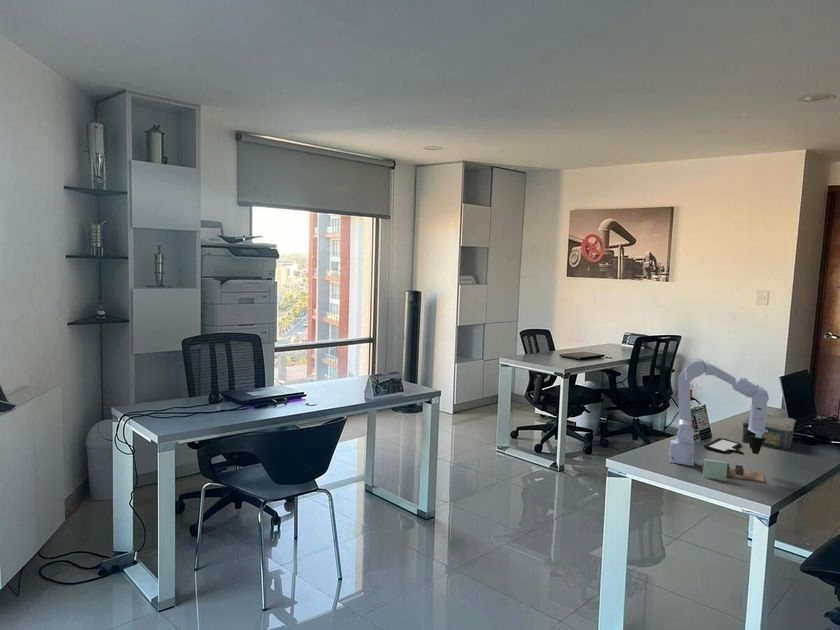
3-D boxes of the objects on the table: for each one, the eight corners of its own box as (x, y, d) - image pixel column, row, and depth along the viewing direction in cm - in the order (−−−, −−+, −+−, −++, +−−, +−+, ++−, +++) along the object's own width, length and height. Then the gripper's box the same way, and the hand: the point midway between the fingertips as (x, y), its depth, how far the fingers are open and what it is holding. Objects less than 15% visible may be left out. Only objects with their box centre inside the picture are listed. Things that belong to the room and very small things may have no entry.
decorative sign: (753, 450, 283) (719, 440, 294) (753, 446, 283) (720, 437, 293) (737, 459, 267) (702, 449, 278) (738, 455, 267) (703, 445, 277)
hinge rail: (702, 472, 243) (703, 464, 243) (701, 465, 252) (702, 457, 252) (764, 483, 235) (765, 474, 234) (761, 475, 244) (762, 467, 243)
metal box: (739, 442, 293) (741, 422, 293) (748, 429, 320) (750, 411, 319) (790, 452, 281) (792, 431, 280) (795, 438, 308) (797, 418, 307)
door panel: (703, 477, 238) (704, 460, 237) (703, 476, 239) (704, 458, 238) (725, 481, 235) (727, 463, 234) (725, 479, 236) (727, 462, 235)
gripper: (771, 423, 234) (768, 457, 235) (766, 415, 247) (762, 448, 248) (751, 420, 236) (747, 454, 238) (746, 413, 250) (743, 445, 251)
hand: (754, 451), depth 243 cm, fingers open, 7 cm apart
